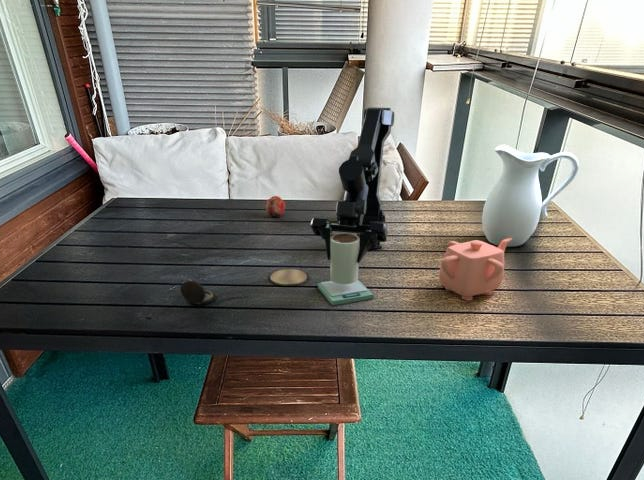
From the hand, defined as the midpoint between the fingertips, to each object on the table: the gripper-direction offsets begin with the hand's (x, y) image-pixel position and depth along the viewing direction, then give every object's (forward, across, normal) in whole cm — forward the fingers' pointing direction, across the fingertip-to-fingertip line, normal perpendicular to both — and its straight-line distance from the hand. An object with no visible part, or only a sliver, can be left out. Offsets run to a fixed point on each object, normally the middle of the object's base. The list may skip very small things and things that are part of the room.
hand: (343, 260), depth 120 cm
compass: (+16, -34, -3) cm, 38 cm away
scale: (+6, 0, +7) cm, 9 cm away
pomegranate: (-34, -39, +48) cm, 70 cm away
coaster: (+2, -17, +10) cm, 20 cm away
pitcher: (-29, +45, +43) cm, 69 cm away
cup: (+3, 0, +5) cm, 5 cm away
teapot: (-1, +32, +14) cm, 35 cm away
